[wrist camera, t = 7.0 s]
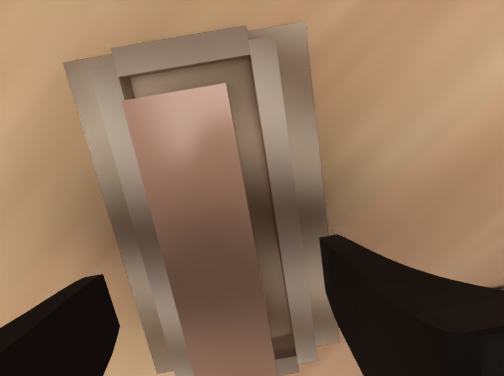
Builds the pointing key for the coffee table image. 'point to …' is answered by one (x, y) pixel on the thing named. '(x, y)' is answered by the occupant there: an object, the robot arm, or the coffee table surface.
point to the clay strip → (204, 227)
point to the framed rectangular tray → (254, 166)
